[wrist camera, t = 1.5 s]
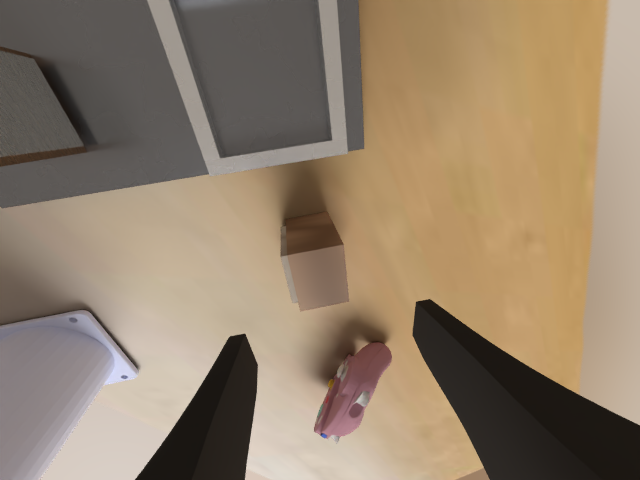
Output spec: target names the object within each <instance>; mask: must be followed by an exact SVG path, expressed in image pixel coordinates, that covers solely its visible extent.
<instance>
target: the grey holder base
mask: <svg viewBox="0 0 640 480" xmlns="http://www.w3.org/2000/svg"><path fill="white" fill-rule="evenodd" d="M359 149H364V130H363V105H362V80H361V55H360V30H359V5H358V0H0V207H1V208H7V207H13V206H19V205H25V204H31V203H37V202H43V201H49V200H55V199H61V198H67V197H73V196H79V195H86V194H92V193H98V192H104V191H110V190H116V189H122V188H128V187H134V186H140V185H146V184H152V183H158V182H164V181H171V180H177V179H183V178H189V177H195V176H201V175H207V174H209V175H210V176H215V175H221V174H227V173H234V172H240V171H246V170H252V169H258V168H264V167H270V166H276V165H282V164H288V163H294V162H300V161H306V160H312V159H318V158H324V157H330V156H336V155H342V154H348V151H353V150H359Z"/></svg>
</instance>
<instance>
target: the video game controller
mask: <svg viewBox="0 0 640 480" xmlns="http://www.w3.org/2000/svg"><path fill="white" fill-rule="evenodd" d="M391 360H392V355H391V352H390V350H389V348H388V347H387V346H386V345H385V344H383V343H379V342H375V343H370V344H368V345H366V346H365V347H363V348H362V349H361V350H360V351H359V352H358V353H357V354H356V355H355V356H352V355H350V354H348V356H347V357H346V359H345V361H344V363H343V364H342V365H341V366H339V368H338V370H337V374H336V375H335V376H334V378H333V380H332V379H331V380H330V381H329V383H328V387H329V390H328V393H327V395H326V397H325V399H324V402H323V404H322V405H321V407H320V410H319V412H318V416H317V419H316V422H315V427H314V432H316V433H318V434H319V435H321V436H322V437H323V438H327V439H328V440H329V439H334V441H335V442H336V443H338V441H339V438H340V437H341V436H345V435H347V434H349V433H351V432H353V431H354V430H355V429H356V428H357V427H359V425H360V423H361V421H362V418H363V414H364V410H365V408H366V406H367V405H368V403H369V401H370V399H371V397H372V395H373V393H374V390H375V388H376V386H377V383H378V380H379V378H380V377H381V375H382V374H383V372H384V371H385V370H386V369H387V367H388V366H389V365H390V363H391Z"/></svg>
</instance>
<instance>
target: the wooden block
mask: <svg viewBox="0 0 640 480" xmlns="http://www.w3.org/2000/svg"><path fill="white" fill-rule="evenodd" d="M281 260H282V264H283V268H284V272H285V276H286V280H287V284H288V288H289V291H290V295H291V299H292V303H297V302H298V303H299V308H300V312H301V311H305V310H310V309H315V308H320V307H325V306H329V305H334V304H339V303H344V302H348V301H349V294H348V284H347V274H346V264H345V253H344V244H343V242H342V240H341V238H340V236H339V234H338V232H337V230H336V228H335V226H334V224H333V222H332V220H331V218H330V216H329V214H328V212H322V213H317V214H311V215H306V216H300V217H295V218H289V219H286V226H282V227H281Z"/></svg>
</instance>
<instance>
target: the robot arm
mask: <svg viewBox="0 0 640 480" xmlns="http://www.w3.org/2000/svg"><path fill="white" fill-rule="evenodd" d="M413 337H414V339H415V341H416V344H417V346H418V348H419V350H420V352H421V354H422V357H423V359H424V360H425V362H426V364H427V366H428V367H429V369H430V371H431V372H432V374H433V376H434V377H435V379H436V381H437V382H438V384H439V386H440V387H441V389H442V391H443V392H444V394H445V396H446V397H447V399H448V401H449V402H450V404H451V406H452V407H453V409H454V411H455V412H456V414H457V416H458V418H459V419H460V421H461V423H462V425H463V426H464V428H465V430H466V432H467V434H468V436H469V438H470V440H471V442H472V444H473V446H474V448H475V450H476V452H477V454H478V456H479V458H480V460H481V462H482V464H483V466H484V468H485V470H486V473H487V474H488V477H489V479H490V480H640V425H638V424H636V423H634V422H632V421H630V420H627V419H625V418H623V417H621V416H619V415H617V414H615V413H613V412H611V411H609V410H607V409H605V408H603V407H601V406H599V405H597V404H596V403H594V402H592V401H590V400H588V399H586V398H584V397H582V396H580V395H578V394H576V393H575V392H573V391H571V390H569V389H567V388H565V387H563V386H562V385H560V384H558V383H556V382H555V381H553V380H551V379H549V378H548V377H546V376H544V375H542V374H541V373H539V372H537V371H535V370H534V369H532V368H530V367H529V366H527V365H525V364H524V363H522V362H520V361H519V360H517V359H516V358H514V357H512V356H511V355H509V354H508V353H506V352H505V351H503V350H501V349H500V348H498V347H497V346H495V345H494V344H492V343H491V342H489V341H488V340H486V339H485V338H483V337H482V336H480V335H479V334H478V333H476V332H475V331H473V330H472V329H470V328H469V327H468V326H466V325H465V324H463V323H462V322H461V321H459V320H458V319H456V318H455V317H454V316H452V315H451V314H450V313H448V312H447V311H445V310H444V309H443V308H441V307H440V306H439V305H437V304H436V303H435V302H433V301H432V300H430V299H428V300H423V301H418V302H416V307H415V317H414V326H413ZM257 371H258V364H257V362H256V359H255V357H254V354H253V352H252V349H251V347H250V344H249V342H248V339H247V337H246V334H241V335H235V336H230V337H229V338H228V340H227V342H226V344H225V345H224V347H223V349H222V351H221V352H220V354H219V356H218V358H217V359H216V361H215V363H214V364H213V366H212V368H211V370H210V371H209V373H208V375H207V376H206V378H205V380H204V381H203V383H202V384H201V386H200V388H199V389H198V391H197V393H196V394H195V396H194V397H193V399H192V400H191V402H190V403H189V405H188V406H187V408H186V409H185V411H184V412H183V414H182V415H181V417H180V418H179V420H178V421H177V423H176V424H175V426H174V427H173V429H172V430H171V432H170V433H169V435H168V436H167V437H166V439H165V440H164V442H163V443H162V445H161V446H160V447H159V449H158V450H157V451H156V453H155V454H154V455H153V457H152V458H151V459H150V461H149V462H148V463H147V465H146V466H145V467H144V469H143V470H142V471H141V473H140V474H139V475H138V477H137V478H136V479H135V480H245V473H246V464H247V457H248V450H249V443H250V436H251V429H252V422H253V415H254V408H255V401H256V393H257ZM138 374H139V371H138V369H137V368H136V367H135V366H134V365H133V363H132V362H131V361H130V360H129V359H128V357H127V356H126V355H125V354H124V353H123V352H122V350H121V349H120V348H119V347H118V346H117V344H116V343H115V342H114V341H113V340H112V338H111V337H110V336H109V335H108V334H107V332H106V331H105V330H104V329H103V328H102V326H101V325H100V324H99V323H98V322H97V320H96V319H95V318H94V317H93V316H92V314H91V313H90V312H88V311H86V310H78V311H73V312H68V313H63V314H58V315H52V316H47V317H42V318H37V319H32V320H27V321H22V322H17V323H12V324H7V325H1V326H0V480H40V479H41V478H42V476H43V475H44V473H45V472H46V470H47V469H48V467H49V466H50V464H51V463H52V462H53V460H54V459H55V457H56V455H57V454H58V453H59V451H60V450H61V448H62V447H63V445H64V444H65V442H66V441H67V439H68V437H69V436H70V434H71V433H72V432H73V430H74V429H75V427H76V426H77V424H78V423H79V421H80V420H81V418H82V417H83V415H84V414H85V412H86V411H87V409H88V408H89V406H90V405H91V403H92V402H93V400H94V399H95V397H96V396H97V394H98V393H99V391H100V390H101V389H102V387H103V386H104V385H107V384H112V383H116V382H121V381H126V380H130V379H134V378H136V377H137V376H138Z"/></svg>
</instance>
